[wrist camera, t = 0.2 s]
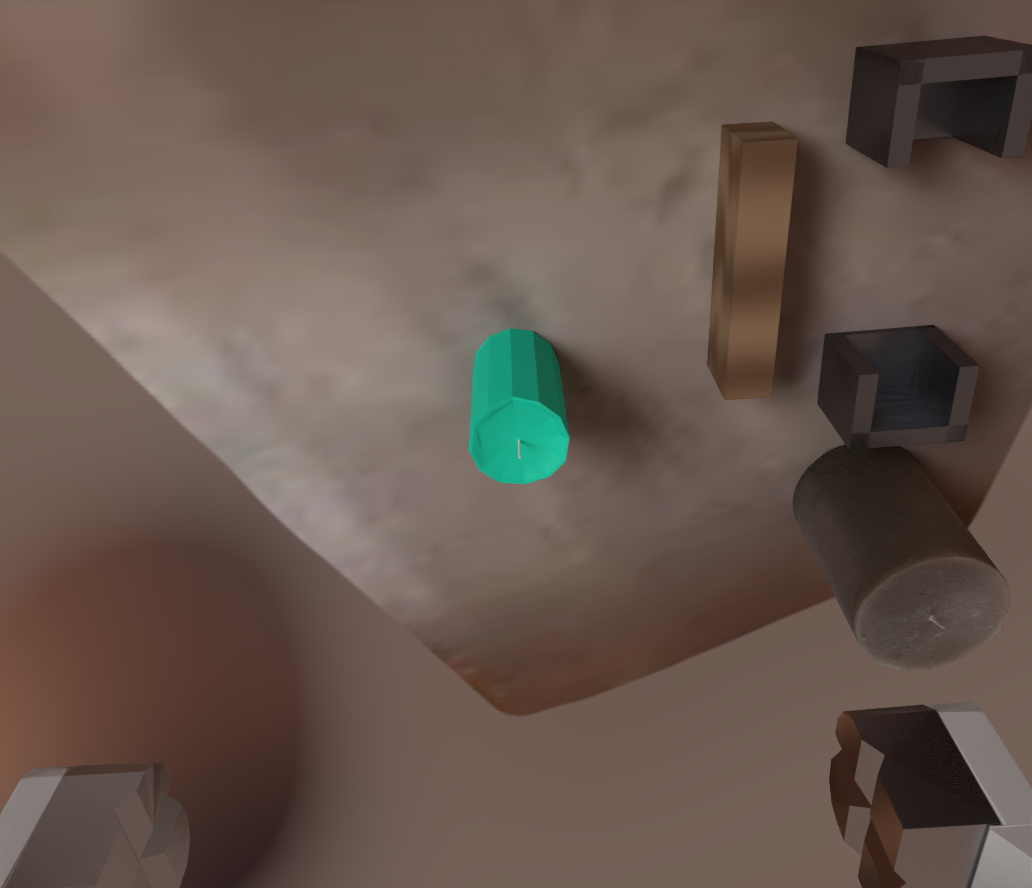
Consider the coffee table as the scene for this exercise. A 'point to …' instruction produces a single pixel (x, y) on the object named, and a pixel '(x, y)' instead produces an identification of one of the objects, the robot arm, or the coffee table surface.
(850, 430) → the endcap
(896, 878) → the robot arm
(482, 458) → the candle
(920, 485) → the pillar candle
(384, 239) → the coffee table surface
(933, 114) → the endcap
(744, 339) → the slat
